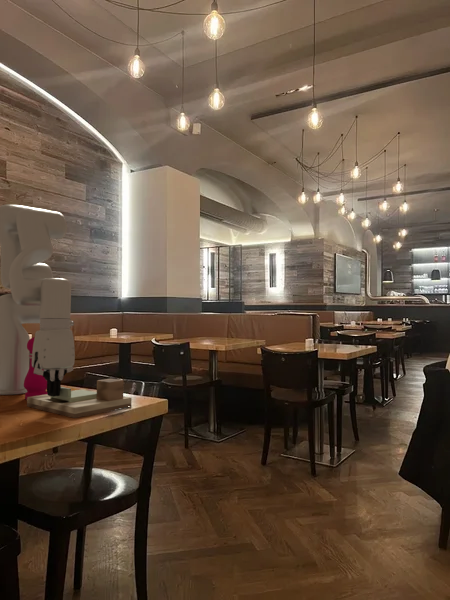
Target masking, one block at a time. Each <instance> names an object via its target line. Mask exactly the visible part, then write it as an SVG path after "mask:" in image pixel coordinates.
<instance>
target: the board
mask: <svg viewBox="0 0 450 600" xmlns="http://www.w3.org/2000/svg"><path fill="white" fill-rule="evenodd" d="M79 390H86V391H91V392H97V390H90V389H85V388H82V389H79ZM72 391H75V390H72ZM132 400H133V399H132V397H129V396H124V395H123V399H119V400H113V401H104V400H99V399H97V398H93V399H87V400H81V401H75V402H68V401H67V400H62V399H57V398H52V399H51V398H50V396H48V394H46V395H39V396H32V397H27V400H26V407H28V408H32V409H37V410H41V411H44V412H47V413H48V412H49V413H53V414H56V415H61V416H65V417H69V418H71V419H77V418H82V417H87V416H92V415H97V414H102V413H106V412H107V411H108V412H111V410H113V411H116V410H115V409H118V410H120V409H119V408H123V409H125V408H124V407H128V406H131V407H132V402H133V401H132ZM128 408H129V407H128ZM108 412H107V413H108Z"/></svg>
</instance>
